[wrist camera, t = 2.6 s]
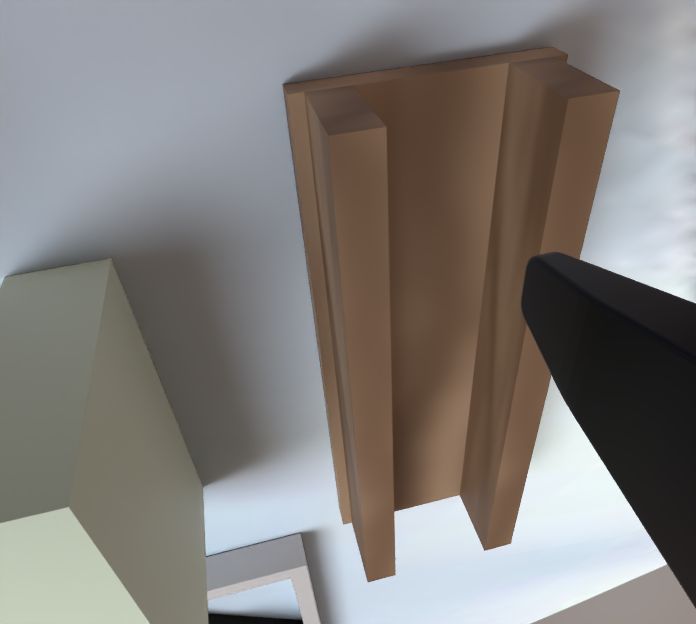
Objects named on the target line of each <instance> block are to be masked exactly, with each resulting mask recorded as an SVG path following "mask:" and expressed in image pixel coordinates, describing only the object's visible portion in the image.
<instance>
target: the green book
mask: <svg viewBox="0 0 696 624" xmlns="http://www.w3.org/2000/svg"><path fill="white" fill-rule="evenodd" d="M0 624H208V600H207V575H206V550H205V525H204V500H203V486H202V483H201V481H200V478H199V476H198V473H197V471H196V468H195V466H194V463H193V461H192V458H191V456H190V453H189V451H188V448H187V446H186V443H185V441H184V438H183V436H182V433H181V431H180V428H179V426H178V423H177V421H176V419H175V416H174V414H173V411H172V409H171V406H170V404H169V401H168V399H167V396H166V394H165V391H164V389H163V386H162V384H161V381H160V379H159V376H158V374H157V371H156V369H155V366H154V364H153V361H152V359H151V356H150V354H149V351H148V349H147V346H146V344H145V341H144V339H143V336H142V334H141V331H140V329H139V326H138V324H137V321H136V319H135V316H134V314H133V311H132V309H131V306H130V304H129V301H128V299H127V297H126V294H125V292H124V289H123V287H122V284H121V282H120V279H119V277H118V274H117V272H116V269H115V267H114V264H113V262H112V259H111V258H110V259H104V260H98V261H93V262H87V263H81V264H76V265H70V266H64V267H58V268H53V269H47V270H41V271H36V272H30V273H24V274H19V275H13V276H7V277H5V278H4V281H3V283H2V285H1V288H0Z"/></svg>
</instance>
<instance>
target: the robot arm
mask: <svg viewBox="0 0 696 624" xmlns="http://www.w3.org/2000/svg"><path fill="white" fill-rule="evenodd" d="M521 310H522V314H523V317H524V319H525V321H526V323H527V325H528V327H529V329H530V331H531V334H532V336H533V338H534V340H535V342H536V344H537V346H538V348H539V350H540V352H541V354H542V356H543V358H544V360H545V363H546V365H547V367H548V369H549V371H550V373H551V375H552V377H553V379H554V381H555V383H556V385H557V387H558V389H559V391H560V393H561V395H562V397H563V399H564V401H565V402H566V404H567V406H568V407H569V409H570V411H571V412H572V414H573V416H574V417H575V419H576V420H577V422H578V423H579V425H580V427H581V428H582V430H583V431H584V433H585V435H586V436H587V438H588V439H589V441H590V442H591V444H592V446H593V447H594V449H595V450H596V452H597V453H598V455H599V457H600V458H601V460H602V461H603V463H604V465H605V466H606V468H607V469H608V471H609V472H610V474H611V476H612V477H613V479H614V480H615V482H616V483H617V485H618V487H619V488H620V490H621V491H622V493H623V495H624V496H625V498H626V499H627V501H628V502H629V504H630V506H631V507H632V509H633V510H634V512H635V513H636V515H637V517H638V518H639V520H640V521H641V523H642V525H643V526H644V528H645V529H646V531H647V532H648V534H649V536H650V537H651V539H652V540H653V542H654V543H655V545H656V547H657V548H658V550H659V551H660V553H661V555H662V556H663V558H664V559H665V561H666V562H667V564H668V566H669V567H670V569H671V570H672V572H673V573H674V575H675V577H676V578H677V580H678V581H679V583H680V585H681V586H682V588H683V589H684V591H685V592H686V594H687V596H688V597H689V599H690V600H691V602H692V604H693V605H694V607H695V608H696V303H693V302H690V301H688V300H685V299H682V298H680V297H677V296H674V295H672V294H669V293H667V292H664V291H661V290H659V289H656V288H653V287H651V286H648V285H645V284H643V283H640V282H637V281H635V280H632V279H630V278H627V277H624V276H622V275H619V274H616V273H614V272H611V271H608V270H606V269H603V268H600V267H598V266H595V265H593V264H590V263H587V262H585V261H582V260H579V259H577V258H574V257H571V256H569V255H566V254H563V253H561V252H550V253H545V254H541V255H536V256H533V257H531V258H530V259H529V260H528V262H527V265H526V270H525V277H524V283H523V289H522V296H521Z"/></svg>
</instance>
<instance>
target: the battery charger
mask: <svg viewBox="0 0 696 624" xmlns="http://www.w3.org/2000/svg"><path fill="white" fill-rule="evenodd" d="M208 624H304V623H303V620H292V619H278V618H264V617H249V616H235V615H221V614H208Z"/></svg>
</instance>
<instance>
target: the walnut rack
mask: <svg viewBox="0 0 696 624" xmlns="http://www.w3.org/2000/svg"><path fill="white" fill-rule="evenodd" d="M567 56H568V54H566V53H563V52H561V51H559V50H557V49H555V48H553V47H547V48H539V49H532V50H525V51H518V52H511V53H504V54H497V55H489V56H482V57H475V58H468V59H461V60H454V61H447V62H439V63H432V64H425V65H418V66H411V67H404V68H396V69H389V70H382V71H375V72H368V73H361V74H354V75H346V76H339V77H332V78H325V79H318V80H311V81H304V82H296V83H289V84H283V91H284V98H285V106H286V113H287V121H288V128H289V136H290V143H291V150H292V158H293V165H294V173H295V180H296V188H297V195H298V203H299V210H300V218H301V225H302V232H303V240H304V247H305V255H306V262H307V270H308V277H309V285H310V292H311V300H312V307H313V314H314V322H315V329H316V337H317V344H318V352H319V359H320V367H321V374H322V382H323V389H324V397H325V404H326V411H327V419H328V426H329V434H330V441H331V449H332V456H333V464H334V471H335V479H336V486H337V493H338V501H339V508H340V513H341V517H342V521H343V524H347V523H351V522H352V524H353V528H354V532H355V536H356V539H357V543H358V547H359V551H360V555H361V558H362V562H363V566H364V570H365V574H366V577H367V581H368V582H371V581H375V580H378V579H382V578H386V577H389V576H393V575H395V529H394V511H398V510H402V509H406V508H410V507H414V506H418V505H422V504H426V503H430V502H434V501H438V500H441V499H445V498H449V497H453V496H457V495H460V497H461V499H462V501H463V503H464V506H465V508H466V510H467V512H468V515H469V517H470V519H471V521H472V524H473V526H474V528H475V530H476V533H477V535H478V537H479V539H480V541H481V544H482V546H483V548H484V550H489V549H493V548H496V547H500V546H504V545H507V544H511V540H512V536H513V532H514V527H515V523H516V519H517V515H518V511H519V507H520V503H521V498H522V494H523V490H524V486H525V482H526V478H527V474H528V469H529V465H530V461H531V457H532V453H533V449H534V445H535V440H536V436H537V432H538V428H539V424H540V420H541V416H542V411H543V407H544V403H545V399H546V395H547V391H548V387H549V382H550V378H551V373H550V371H549V369H548V367H547V365H546V363H545V360H544V358H543V356H542V354H541V352H540V350H539V348H538V346H537V344H536V342H535V340H534V338H533V336H532V334H531V331H530V329H529V327H528V325H527V323H526V321H525V319H524V317H523V314H522V310H521V296H522V289H523V283H524V277H525V270H526V265H527V262H528V260H529V259H530V258H531V257H533V256H536V255H541V254H545V253H550V252H561V253H563V254H566V255H569V256H571V257H574V258H577V259H579V258H580V254H581V250H582V246H583V242H584V238H585V233H586V229H587V225H588V221H589V217H590V213H591V209H592V204H593V200H594V196H595V192H596V188H597V184H598V180H599V175H600V171H601V167H602V163H603V159H604V155H605V151H606V146H607V142H608V138H609V134H610V130H611V126H612V122H613V117H614V113H615V109H616V105H617V101H618V97H619V93H620V91H619V90H618V89H616V88H614V87H612V86H610V85H608V84H606V83H604V82H602V81H600V80H598V79H596V78H594V77H592V76H590V75H588V74H586V73H584V72H582V71H580V70H578V69H576V68H574V67H572V66H571V65H569V64H567V63H566V62H567Z"/></svg>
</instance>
